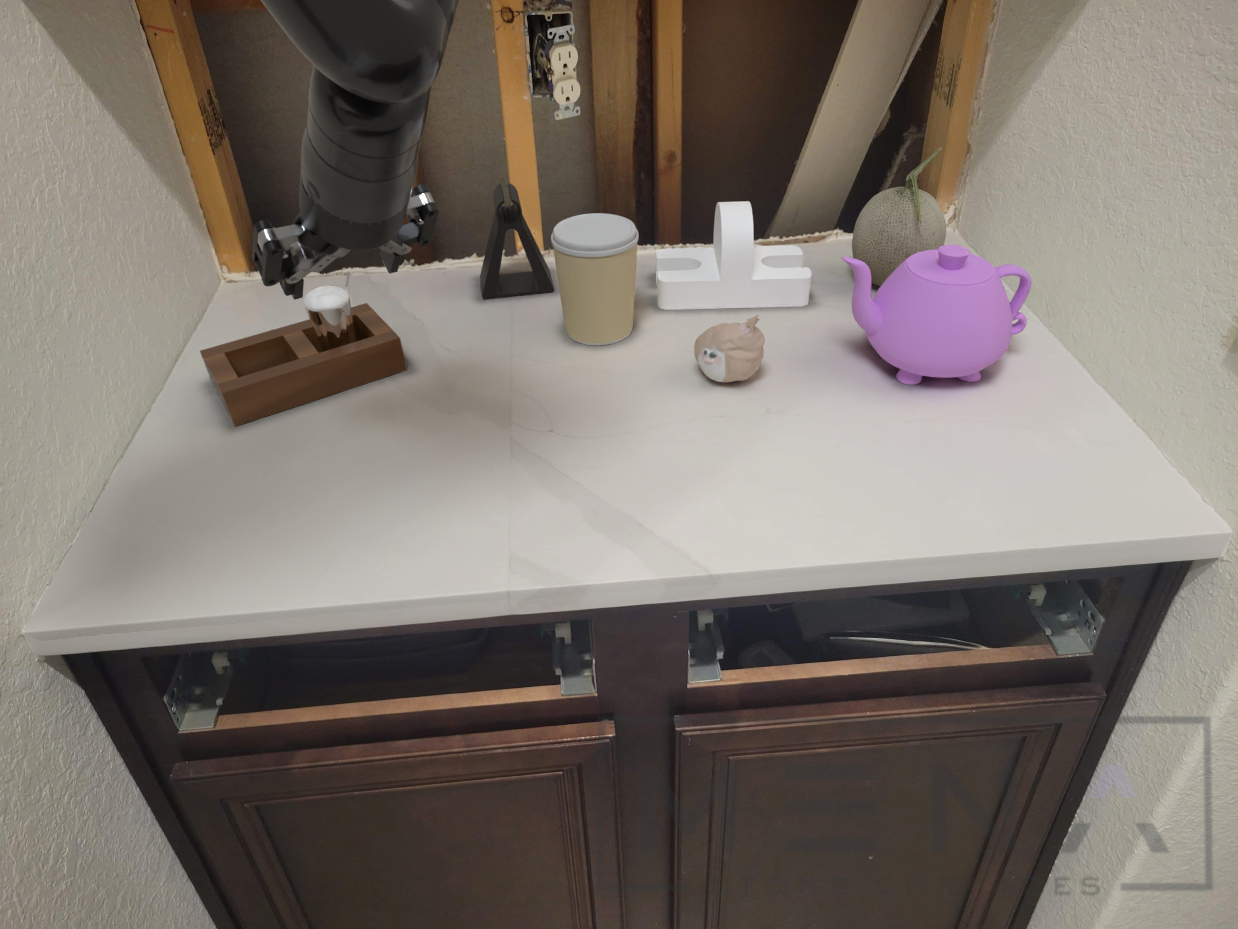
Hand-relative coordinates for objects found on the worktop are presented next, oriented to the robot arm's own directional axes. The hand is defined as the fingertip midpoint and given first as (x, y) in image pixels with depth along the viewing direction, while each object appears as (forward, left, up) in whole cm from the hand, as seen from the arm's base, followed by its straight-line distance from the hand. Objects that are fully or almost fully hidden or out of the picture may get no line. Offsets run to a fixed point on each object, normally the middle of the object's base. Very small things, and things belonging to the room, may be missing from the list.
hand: (341, 276), depth 72 cm
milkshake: (-2, +12, -15) cm, 19 cm away
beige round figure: (+35, -6, -15) cm, 39 cm away
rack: (-6, +11, -15) cm, 20 cm away
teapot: (+55, -11, -15) cm, 58 cm away
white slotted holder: (+44, +12, -15) cm, 48 cm away
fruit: (+63, +6, -15) cm, 65 cm away
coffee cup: (+26, +9, -15) cm, 32 cm away
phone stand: (+20, +24, -15) cm, 35 cm away
